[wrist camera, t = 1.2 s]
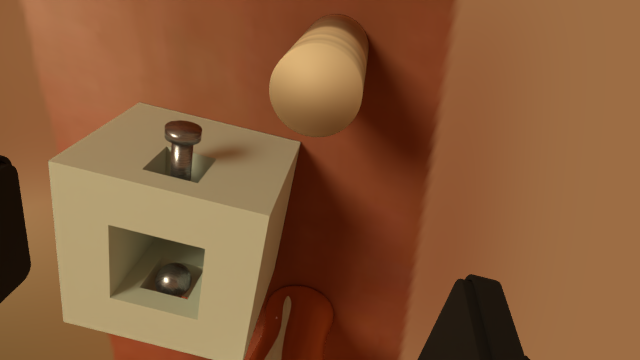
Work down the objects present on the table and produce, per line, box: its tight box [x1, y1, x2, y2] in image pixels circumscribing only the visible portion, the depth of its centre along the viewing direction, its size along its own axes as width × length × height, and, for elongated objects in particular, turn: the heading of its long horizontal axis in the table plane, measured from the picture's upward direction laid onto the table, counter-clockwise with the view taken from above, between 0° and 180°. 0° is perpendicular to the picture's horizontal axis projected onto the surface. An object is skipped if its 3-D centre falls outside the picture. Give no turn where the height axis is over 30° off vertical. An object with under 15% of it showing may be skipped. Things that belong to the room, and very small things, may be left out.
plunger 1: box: [164, 120, 202, 181], centre depth 26 cm, size 6×2×2 cm, turn 168°
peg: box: [269, 14, 369, 137], centre depth 24 cm, size 4×4×10 cm
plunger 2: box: [155, 263, 192, 298], centre depth 31 cm, size 6×2×2 cm, turn 168°
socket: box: [48, 102, 301, 360], centre depth 31 cm, size 12×12×10 cm
